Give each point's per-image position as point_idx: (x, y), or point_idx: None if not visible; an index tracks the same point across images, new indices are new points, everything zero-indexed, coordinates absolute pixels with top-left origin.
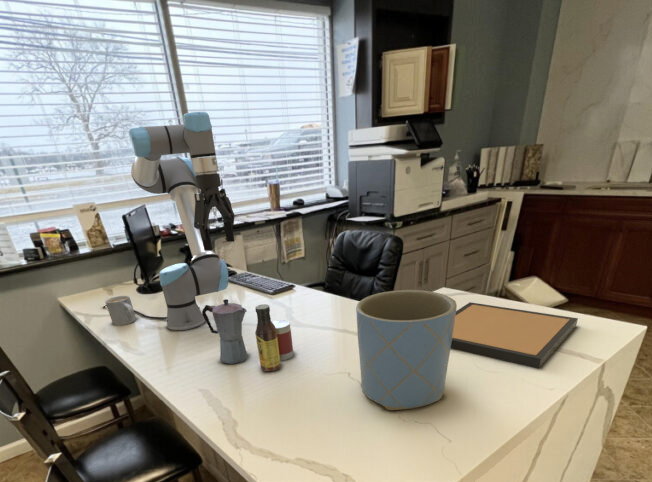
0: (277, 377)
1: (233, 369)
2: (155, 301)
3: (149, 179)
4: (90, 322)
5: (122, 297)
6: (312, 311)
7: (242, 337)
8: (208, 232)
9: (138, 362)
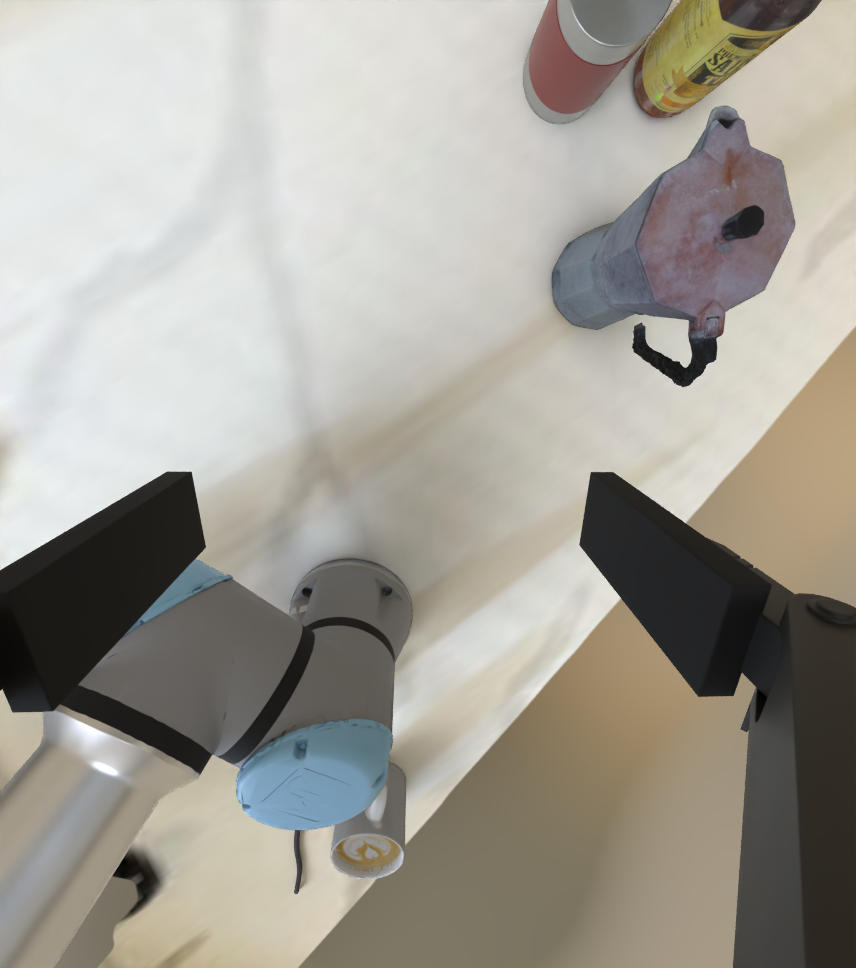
0: None
1: None
2: (204, 809)
3: None
4: None
5: (337, 859)
6: (67, 155)
7: (607, 228)
8: (714, 554)
9: None
